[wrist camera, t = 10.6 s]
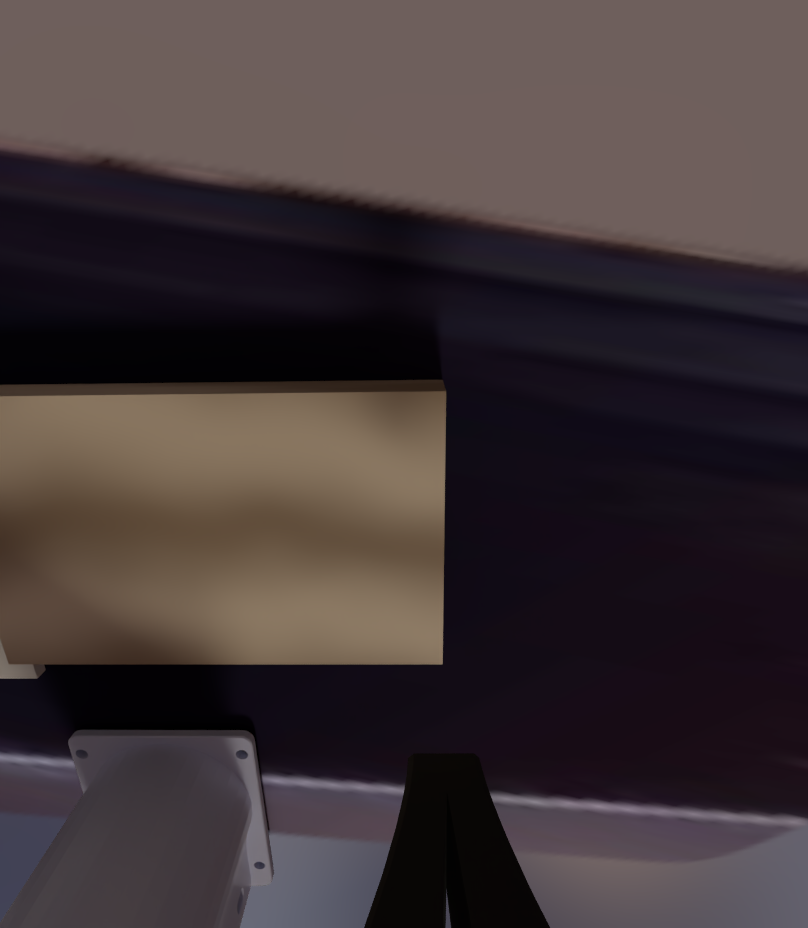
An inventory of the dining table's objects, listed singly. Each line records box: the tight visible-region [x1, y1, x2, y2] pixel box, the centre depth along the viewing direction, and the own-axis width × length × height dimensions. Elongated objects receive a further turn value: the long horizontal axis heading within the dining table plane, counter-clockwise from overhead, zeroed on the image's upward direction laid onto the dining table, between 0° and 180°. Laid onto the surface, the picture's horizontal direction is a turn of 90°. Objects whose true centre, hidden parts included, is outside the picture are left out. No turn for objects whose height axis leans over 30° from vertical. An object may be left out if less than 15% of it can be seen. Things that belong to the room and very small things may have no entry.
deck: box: [0, 380, 446, 664], centre depth 18 cm, size 10×16×2 cm, turn 91°
